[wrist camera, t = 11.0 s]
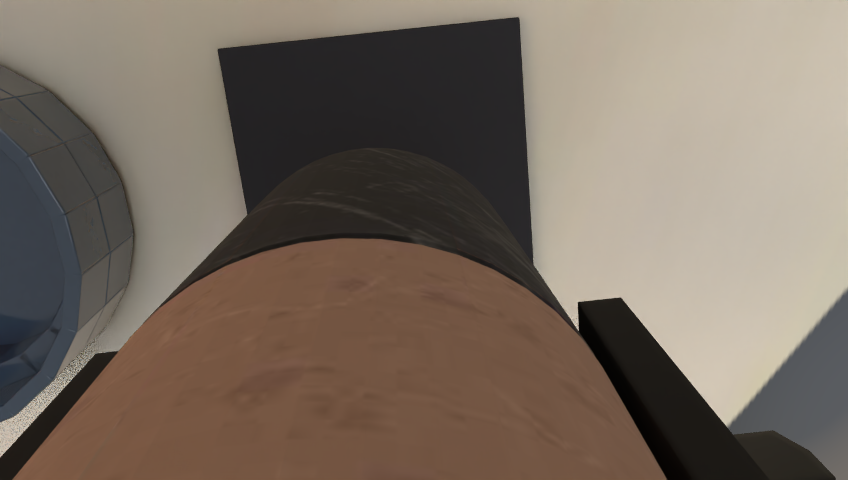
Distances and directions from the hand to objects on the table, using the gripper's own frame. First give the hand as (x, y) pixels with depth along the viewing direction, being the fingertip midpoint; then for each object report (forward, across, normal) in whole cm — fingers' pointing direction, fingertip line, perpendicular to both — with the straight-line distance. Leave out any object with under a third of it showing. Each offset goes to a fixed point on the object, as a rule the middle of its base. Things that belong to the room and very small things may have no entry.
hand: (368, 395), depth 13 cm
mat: (+18, 0, 0) cm, 18 cm away
